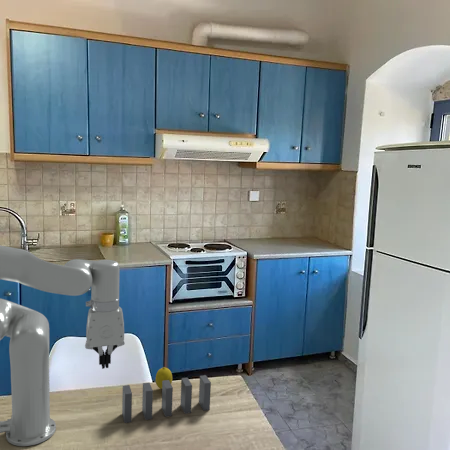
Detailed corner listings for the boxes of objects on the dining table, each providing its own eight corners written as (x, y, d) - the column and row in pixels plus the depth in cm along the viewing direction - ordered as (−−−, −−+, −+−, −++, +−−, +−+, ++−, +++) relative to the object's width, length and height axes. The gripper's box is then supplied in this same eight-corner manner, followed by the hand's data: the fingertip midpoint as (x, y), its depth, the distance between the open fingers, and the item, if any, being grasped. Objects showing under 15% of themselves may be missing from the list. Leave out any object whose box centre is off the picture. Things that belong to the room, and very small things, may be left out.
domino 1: (128, 412, 137) (129, 384, 136) (131, 422, 133) (131, 393, 131) (122, 413, 137) (122, 385, 135) (124, 423, 132) (124, 394, 131)
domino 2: (145, 419, 134) (145, 391, 133) (142, 410, 139) (142, 383, 137) (152, 418, 135) (152, 390, 133) (148, 409, 139) (149, 382, 138)
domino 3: (165, 416, 136) (166, 388, 135) (161, 408, 141) (162, 380, 139) (171, 415, 137) (172, 387, 135) (167, 407, 141) (168, 379, 140)
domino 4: (184, 413, 138) (185, 386, 137) (180, 405, 143) (181, 378, 141) (191, 412, 139) (192, 385, 138) (186, 404, 143) (187, 377, 142)
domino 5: (203, 410, 140) (204, 383, 139) (198, 402, 145) (199, 375, 144) (209, 409, 141) (210, 382, 140) (204, 401, 146) (205, 375, 144)
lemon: (168, 395, 148) (169, 372, 147) (152, 392, 149) (153, 369, 148) (174, 387, 154) (174, 364, 152) (158, 384, 155) (159, 362, 153)
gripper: (77, 310, 121) (77, 375, 124) (134, 306, 126) (133, 369, 129) (76, 302, 128) (76, 363, 131) (130, 298, 133) (129, 357, 136)
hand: (104, 366), depth 130 cm, fingers closed
